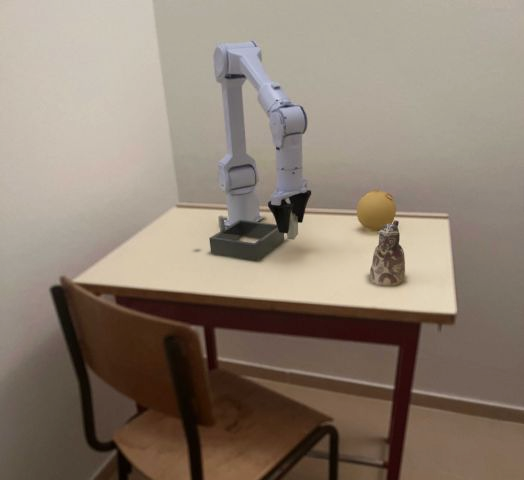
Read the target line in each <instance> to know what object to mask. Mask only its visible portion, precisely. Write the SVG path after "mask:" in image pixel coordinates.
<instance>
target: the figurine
mask: <svg viewBox="0 0 524 480" xmlns="http://www.w3.org/2000/svg"><path fill="white" fill-rule="evenodd" d="M399 224H400V222H399V220H396V219H394V221H393V222H392V224H386V225H384V226H383V227H382V229H381V230H378V244H377V246H375V248H374V251H373V255H372V260H371V261H372V262H371V266H370V270H369V271H370V273H369V275H370V280H371V282H372V283H373V284H376V285H379V286H390V287H391V286H393V287H394V286H397V285H400V284H402V282H403V281H404V280H405V276H406V260H405V259H406V258H405V251H404V248H403V247H402V245H401V244H400V239H401V238H400V236H401V235H400V234H401V233H400V231H399Z"/></svg>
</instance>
